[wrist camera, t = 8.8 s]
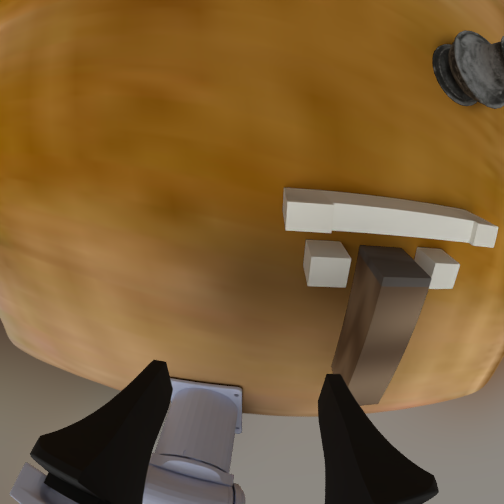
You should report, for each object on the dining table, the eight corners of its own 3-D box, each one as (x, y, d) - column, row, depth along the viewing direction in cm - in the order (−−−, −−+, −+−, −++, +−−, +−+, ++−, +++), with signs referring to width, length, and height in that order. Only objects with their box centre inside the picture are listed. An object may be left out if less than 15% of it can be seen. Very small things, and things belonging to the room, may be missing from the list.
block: (365, 364, 23) (378, 403, 18) (331, 365, 23) (339, 407, 19) (401, 247, 19) (431, 278, 14) (359, 245, 19) (383, 277, 14)
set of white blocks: (449, 271, 19) (476, 298, 15) (278, 264, 20) (280, 297, 16) (464, 209, 17) (498, 227, 13) (283, 187, 18) (287, 201, 13)
